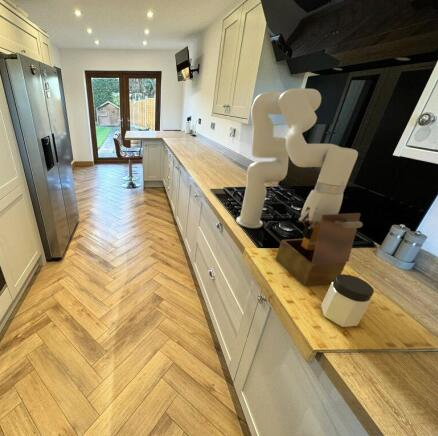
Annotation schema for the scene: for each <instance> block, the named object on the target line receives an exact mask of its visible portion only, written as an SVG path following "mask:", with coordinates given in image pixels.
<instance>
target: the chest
mask: <svg viewBox="0 0 438 436" xmlns="http://www.w3.org/2000/svg"><path fill="white" fill-rule="evenodd" d="M303 239H304V238H291V239H289V238H288V239H281V241H280V244H279V246H278V250H277V253H276V256H275V260H276V261H278V263H280V264H281V266H283V267H284V268H285V269H286V270H287V271H288V272H289V273H290V274H291V275H292V276H293V277H294V278H295V279H296V280H297V281H298V282H299V283H300V284H301V285H302V286H304V287H305V286H317V285H328V284H331V283H332V282H334V280H335V278H336V277H337V276H338V275H341V274H342V273H343V271H344V268H345V267H346V265H347V262H336V263H324V264H312V260H313V255H314V250H315V249H314V250H306V249H305V248H304V247H302V246H301V244H302V241H303Z"/></svg>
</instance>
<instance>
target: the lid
mask: <svg viewBox="0 0 438 436" xmlns="http://www.w3.org/2000/svg"><path fill="white" fill-rule="evenodd" d="M360 218H361V213H360V212H353V213H352V212H350V213H349V212H348V213H338V214H327V215H322V217H321V222H320V227H319V232H318V236H317V241H316V246H315V250H314V255H313V260H312V264H324V263H336V262H346V263H348V262H349V261H350V257H351V252H352V248H353V246H354V241H355V237H356V234H357V230H358V229H359V228H362V227H363V225H364V224H363V222H362V221H360Z"/></svg>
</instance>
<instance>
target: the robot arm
mask: <svg viewBox="0 0 438 436" xmlns="http://www.w3.org/2000/svg"><path fill="white" fill-rule="evenodd" d="M321 103H322V94H321V93H320V91H319V90H317V89H315V88H298V87H297V88H290V89H287V90H285V91H284V92H283V91H267V92H262V93H260V94H258V95H256V97H255V99H254V101H253V102H252V105H251V110H250V114H251V115H250V117H251V124H252V138H251V139H252V140H251V154H252V157H254V158H255V159H271V160H270V161H269V160H266V161H265V160H263V161H255V162H252V163H250V164H249V166H248V167H247V170H246V186H245V190H244V195H243V196H244V197H243V201H242V206H241V209H240V215H239V216H237V217H236V220H235V221H236V223H237V224H238V225H239V226H241V227H244V228H247V229H259V228H262V227H263V221H262V220H261V217H262V214H263V210H264V205H265V202H266V197H267V192H268V191H267V187H266V185H265V183H275V182H281V181H284V180H285V179H286V178H287V177H286V176H287V174H288V168H289V160H290V161H291V162H292V164H294V166H296V167H298V168H320V172H319V173H318V174H319V175H318V178H317V181H316V183H315V186H314V189H311V191H310V192H309V194H308V196H307V197H306V200H305V202H304V205H303V207H302V209H301V213H300V217H299V218H298V221H299V222H300V223H302V225H303V227H304V228H303V231H302V234H301V236H302V237H303V238H304V237H305V238H306V239H310V238H311V235H312V233H313V229H312V228H313V226H314V224H315V222H319V223H320V222H321V217H322V215H327V214H339V212H340V210H341V207H342V204H343V198H344V192H345V189H346V187H347V184H348V182H349V179H350V177H351V174H352V171H353V169H354V166H355V164H356V162H357V159H358V156H359V152H358V151H357V150H356V149H354V148H349V147H341V146H339V145H337V144H333V143H307V141H306V140H305V137H304V135H303V133H305V132H307V131H308V130H310V129H311V128H312V127H313V126H314V125H315V124H316V122H317V120H318V116H317V114H316V110H318V108H319V107H320V105H321ZM270 115H282V116H283V118H284V120H285V122H286V124H287V126H288V129H289V130H288V132H287V134H286V137H283V136H274V129H275V127H274V123H273V120H272V119H271V117H270ZM309 222H311V223H309Z"/></svg>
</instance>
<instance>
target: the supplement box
mask: <svg viewBox="0 0 438 436" xmlns="http://www.w3.org/2000/svg"><path fill="white" fill-rule="evenodd" d="M309 223H311V221H310V222H309ZM319 227H320V223H319V221H316V222H315V224H314V226H313V228H312V229H313V233H312V235H311V238H310V239H306V238H305V237H304V236H303V238H302V239H303V241H302V244H301V246H302V247H304V248H305V249H306V250H314V249H315V246H316V241H317V236H318V232H319Z"/></svg>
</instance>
